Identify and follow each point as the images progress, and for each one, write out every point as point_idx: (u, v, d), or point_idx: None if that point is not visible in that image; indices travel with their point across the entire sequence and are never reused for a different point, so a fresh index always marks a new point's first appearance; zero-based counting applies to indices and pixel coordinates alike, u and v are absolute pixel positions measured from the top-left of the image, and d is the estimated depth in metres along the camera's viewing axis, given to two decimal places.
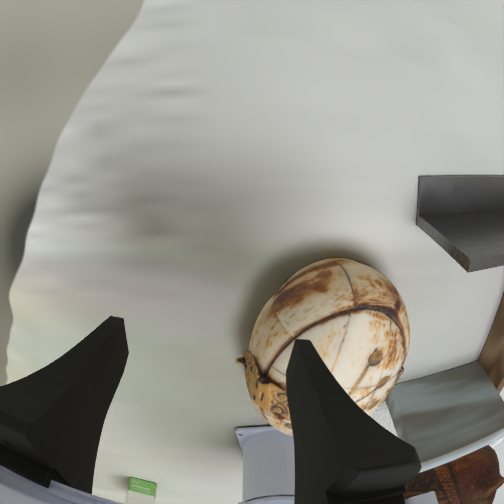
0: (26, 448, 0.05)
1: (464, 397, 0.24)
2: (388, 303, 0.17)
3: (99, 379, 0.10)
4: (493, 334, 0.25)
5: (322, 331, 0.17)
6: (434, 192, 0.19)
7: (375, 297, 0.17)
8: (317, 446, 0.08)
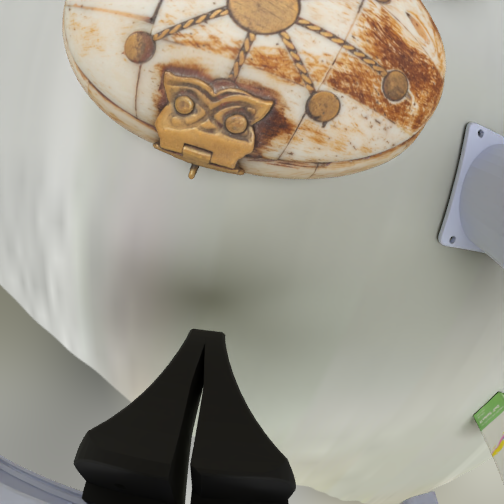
0: (153, 489, 0.05)
1: None
2: None
3: (194, 397, 0.10)
4: None
5: (70, 38, 0.07)
6: None
7: None
8: None
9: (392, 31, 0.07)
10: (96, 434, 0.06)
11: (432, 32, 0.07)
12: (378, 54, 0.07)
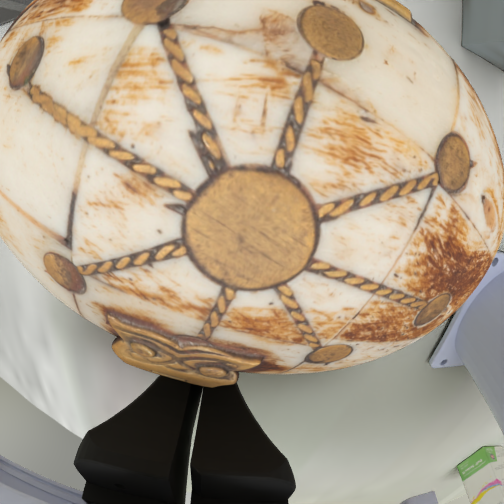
0: (153, 489, 0.05)
1: None
2: None
3: (194, 397, 0.10)
4: None
5: None
6: None
7: None
8: None
9: (455, 242, 0.05)
10: (95, 434, 0.06)
11: (502, 205, 0.05)
12: (425, 286, 0.05)
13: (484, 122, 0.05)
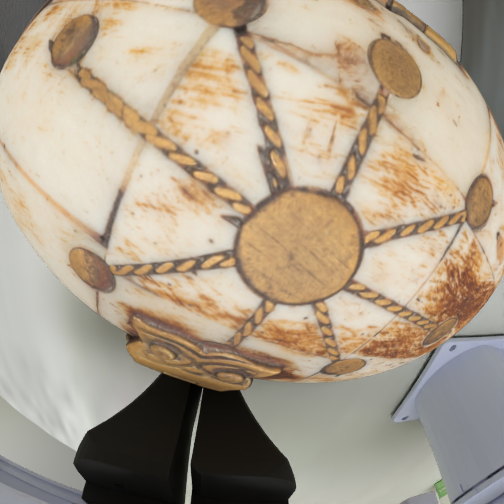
0: (152, 489, 0.05)
1: None
2: (34, 16, 0.04)
3: (193, 397, 0.10)
4: None
5: (1, 188, 0.05)
6: None
7: None
8: None
9: (470, 273, 0.05)
10: (95, 434, 0.06)
11: None
12: (438, 311, 0.06)
13: None
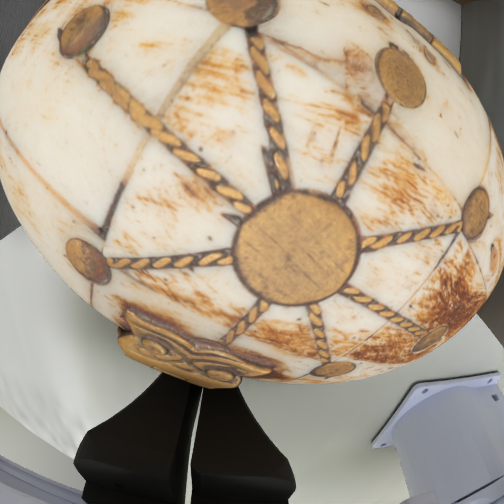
0: (152, 489, 0.05)
1: None
2: None
3: (193, 397, 0.10)
4: None
5: (0, 174, 0.05)
6: None
7: None
8: None
9: (463, 282, 0.05)
10: (96, 434, 0.06)
11: None
12: (430, 318, 0.06)
13: None
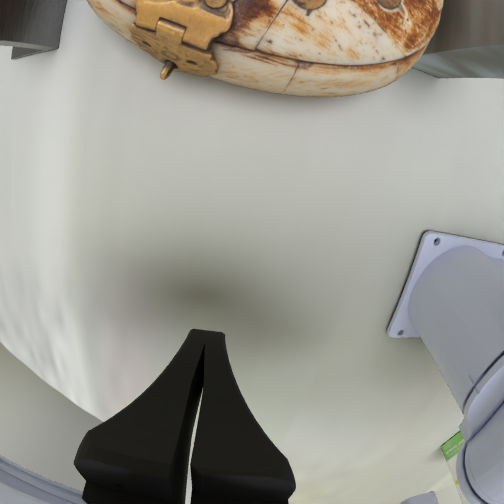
0: (153, 489, 0.05)
1: None
2: None
3: (194, 397, 0.10)
4: None
5: None
6: None
7: None
8: None
9: None
10: (96, 434, 0.06)
11: None
12: None
13: None
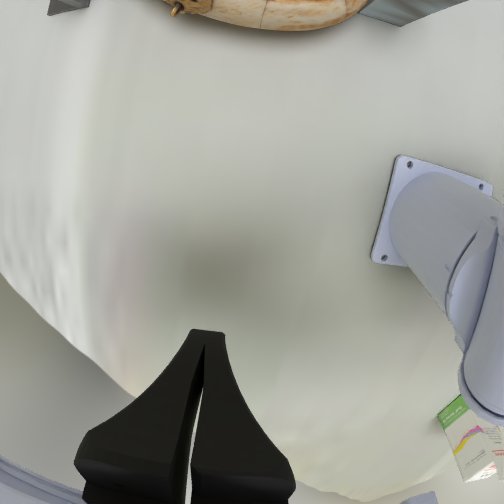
0: (152, 489, 0.05)
1: None
2: None
3: (194, 397, 0.10)
4: None
5: None
6: None
7: None
8: None
9: None
10: (96, 434, 0.06)
11: None
12: None
13: None
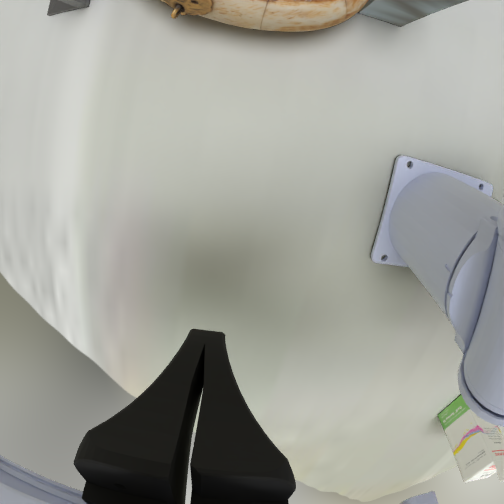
0: (152, 489, 0.05)
1: None
2: None
3: (194, 397, 0.10)
4: None
5: None
6: None
7: None
8: None
9: None
10: (96, 434, 0.06)
11: None
12: None
13: None
